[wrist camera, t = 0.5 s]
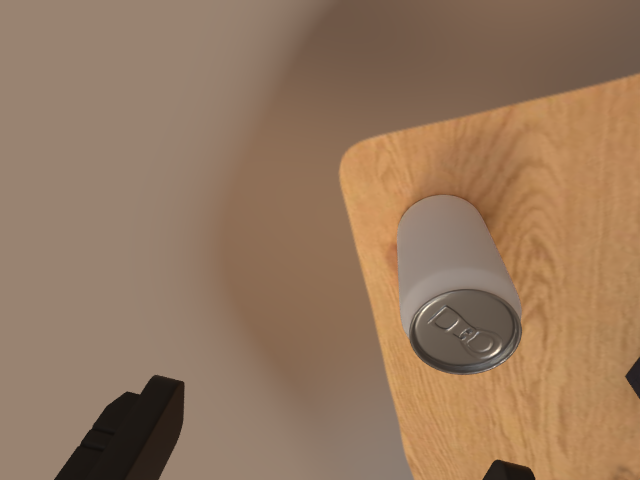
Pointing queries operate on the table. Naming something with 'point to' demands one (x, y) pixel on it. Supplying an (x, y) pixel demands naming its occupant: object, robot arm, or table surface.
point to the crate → (635, 377)
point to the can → (455, 288)
